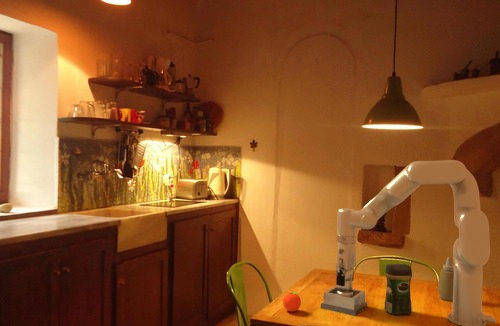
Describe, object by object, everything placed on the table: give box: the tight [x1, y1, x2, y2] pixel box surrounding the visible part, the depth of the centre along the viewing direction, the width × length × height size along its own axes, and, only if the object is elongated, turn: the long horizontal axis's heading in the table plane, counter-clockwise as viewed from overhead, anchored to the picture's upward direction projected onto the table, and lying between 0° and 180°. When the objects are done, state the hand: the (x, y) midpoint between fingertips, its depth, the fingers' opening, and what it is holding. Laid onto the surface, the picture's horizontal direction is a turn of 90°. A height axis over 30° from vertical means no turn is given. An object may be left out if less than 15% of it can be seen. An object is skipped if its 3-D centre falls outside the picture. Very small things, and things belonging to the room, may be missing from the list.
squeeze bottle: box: [437, 256, 454, 302], centre depth 182 cm, size 8×8×18 cm
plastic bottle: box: [337, 264, 355, 297], centre depth 167 cm, size 6×7×20 cm
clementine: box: [282, 292, 303, 313], centre depth 161 cm, size 8×7×7 cm
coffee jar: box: [384, 263, 413, 316], centre depth 163 cm, size 10×8×19 cm
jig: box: [320, 285, 368, 317], centre depth 167 cm, size 14×14×6 cm
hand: (345, 282), depth 167 cm, fingers open, 9 cm apart
